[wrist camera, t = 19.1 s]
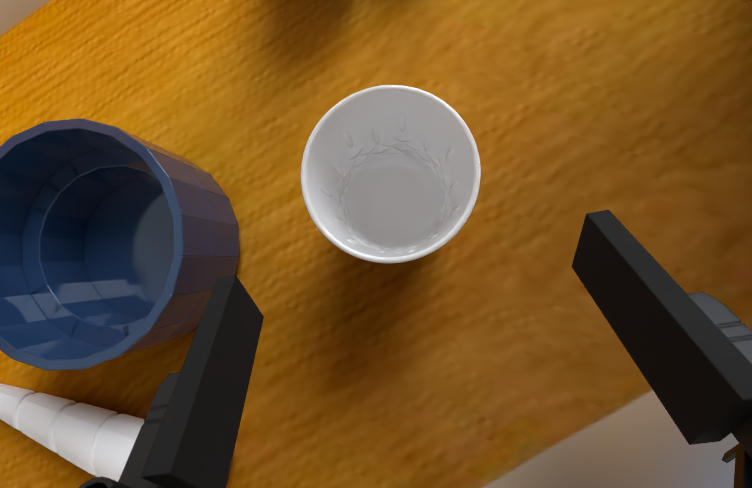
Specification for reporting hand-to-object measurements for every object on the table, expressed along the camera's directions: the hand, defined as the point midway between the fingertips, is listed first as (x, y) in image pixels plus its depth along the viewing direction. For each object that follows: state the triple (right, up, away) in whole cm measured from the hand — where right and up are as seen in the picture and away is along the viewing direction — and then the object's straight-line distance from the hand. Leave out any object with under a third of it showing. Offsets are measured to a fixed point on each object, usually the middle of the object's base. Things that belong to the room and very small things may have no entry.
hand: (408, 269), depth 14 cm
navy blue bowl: (-18, +1, +13) cm, 23 cm away
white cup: (0, +4, +12) cm, 12 cm away
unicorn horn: (-22, -13, +13) cm, 29 cm away
